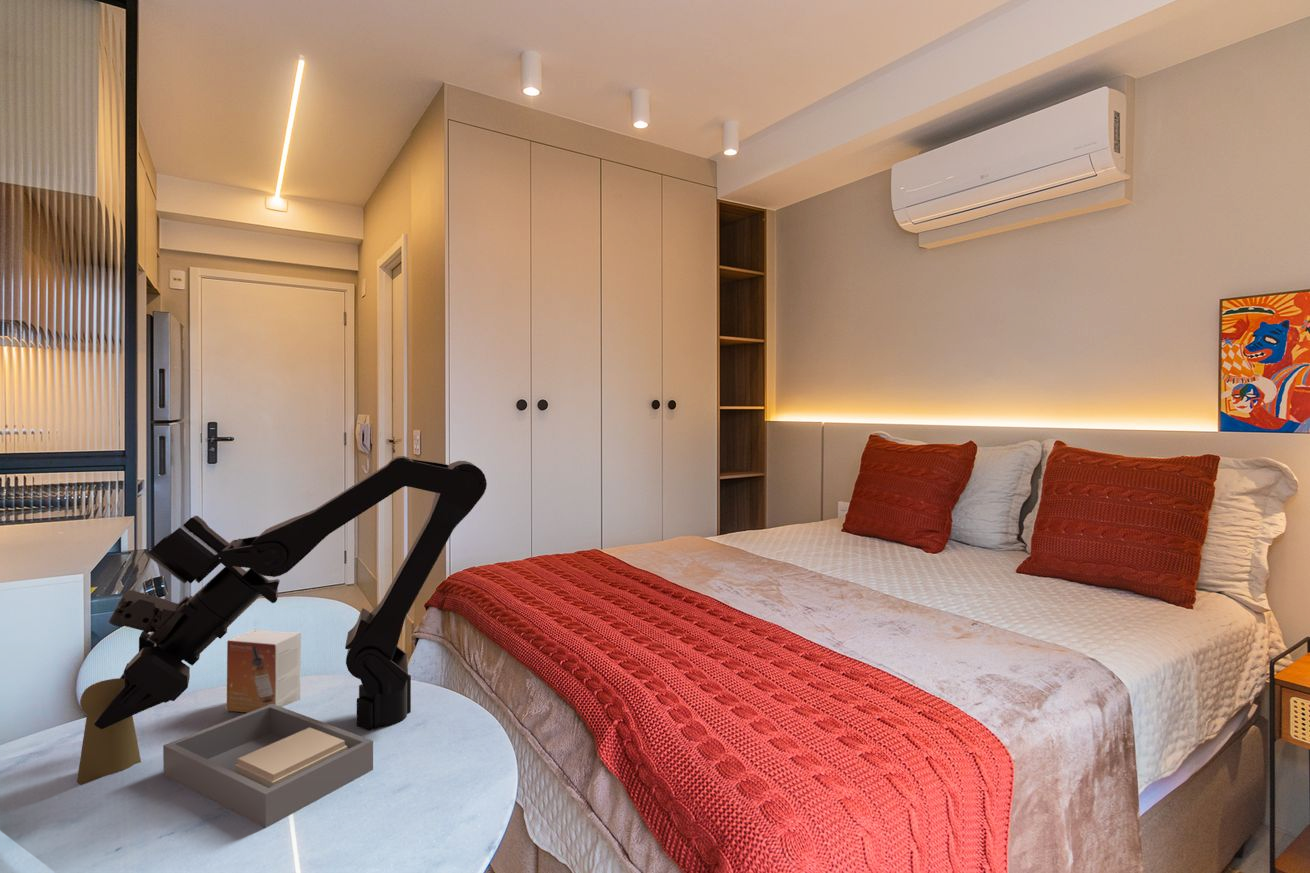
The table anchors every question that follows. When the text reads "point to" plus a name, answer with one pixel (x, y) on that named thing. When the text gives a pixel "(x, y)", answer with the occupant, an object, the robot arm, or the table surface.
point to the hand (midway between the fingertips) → (105, 710)
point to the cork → (105, 735)
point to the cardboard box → (289, 757)
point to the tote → (217, 749)
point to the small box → (263, 670)
